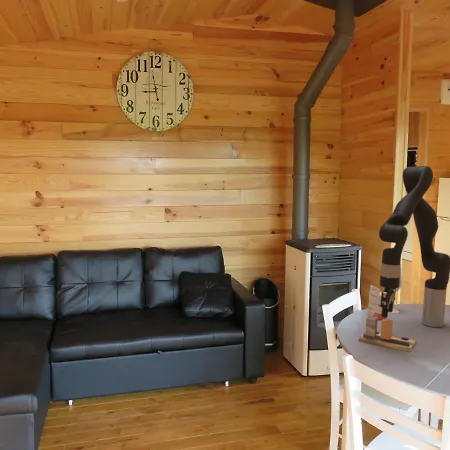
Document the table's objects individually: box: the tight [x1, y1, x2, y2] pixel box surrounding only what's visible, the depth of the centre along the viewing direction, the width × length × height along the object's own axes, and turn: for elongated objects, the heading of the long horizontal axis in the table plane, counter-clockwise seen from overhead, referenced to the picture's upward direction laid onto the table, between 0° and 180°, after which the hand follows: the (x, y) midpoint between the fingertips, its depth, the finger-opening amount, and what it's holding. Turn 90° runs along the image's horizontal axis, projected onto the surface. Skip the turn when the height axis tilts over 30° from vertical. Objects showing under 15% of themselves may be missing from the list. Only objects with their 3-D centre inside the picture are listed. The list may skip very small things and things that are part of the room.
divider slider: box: [380, 318, 394, 340], centre depth 197 cm, size 9×4×8 cm, turn 149°
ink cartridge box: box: [367, 284, 387, 320], centre depth 230 cm, size 9×5×15 cm, turn 17°
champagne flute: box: [390, 263, 402, 314], centre depth 239 cm, size 7×7×24 cm
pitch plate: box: [358, 315, 417, 353], centre depth 198 cm, size 12×20×10 cm, turn 58°
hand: (387, 314), depth 194 cm, fingers open, 8 cm apart
